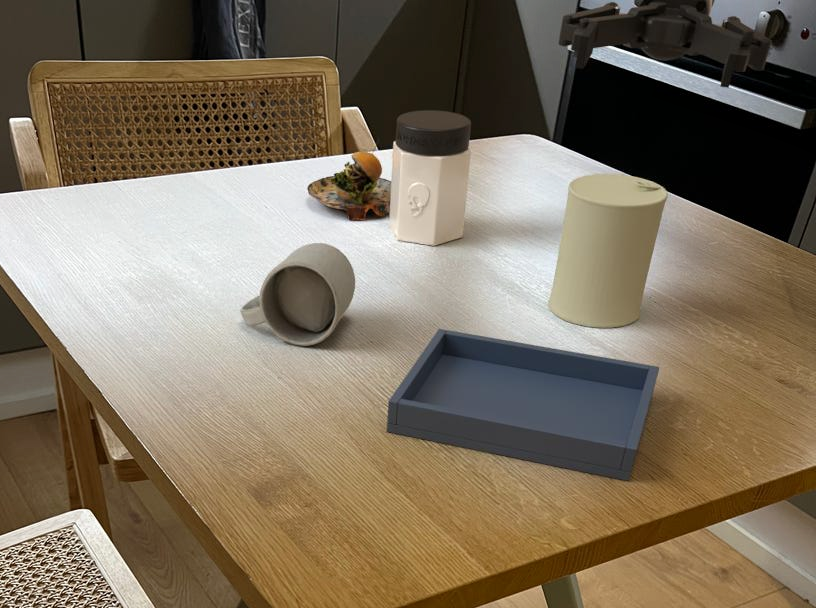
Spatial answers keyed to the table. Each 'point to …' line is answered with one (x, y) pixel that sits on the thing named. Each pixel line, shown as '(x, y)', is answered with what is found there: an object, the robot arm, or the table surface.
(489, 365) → the tray
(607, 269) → the can
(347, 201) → the burger
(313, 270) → the ceramic mug
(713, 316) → the table surface
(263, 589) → the table surface
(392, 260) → the table surface
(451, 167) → the jar
